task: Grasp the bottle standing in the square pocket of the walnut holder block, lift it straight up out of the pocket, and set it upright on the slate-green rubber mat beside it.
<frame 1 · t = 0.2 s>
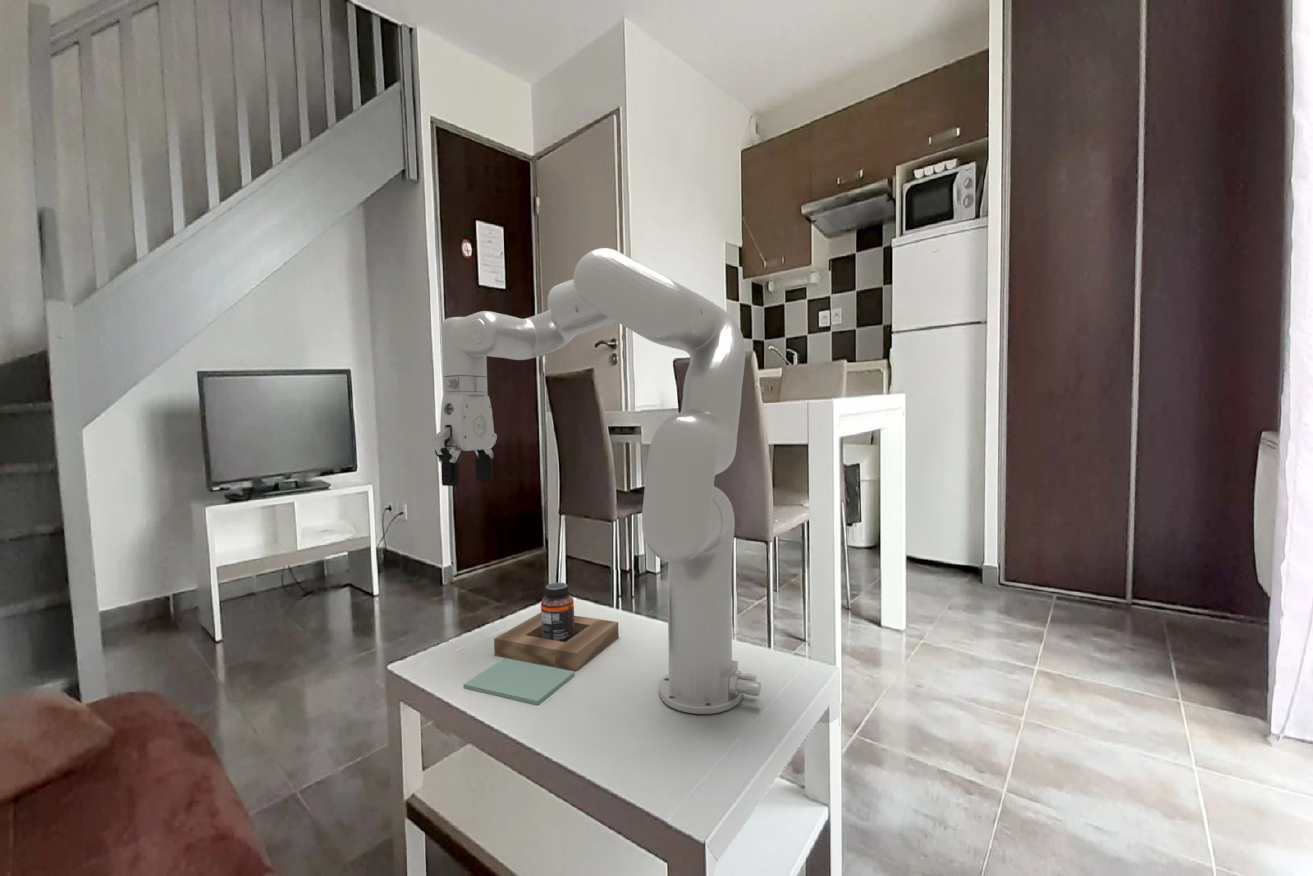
hand: (468, 482, 101), 31 cm above the table, fingers open, 9 cm apart
supplement bottle: (558, 647, 102), resting in walnut holder
slate mat: (520, 681, 89), on the table
walnut holder: (558, 646, 102), on the table
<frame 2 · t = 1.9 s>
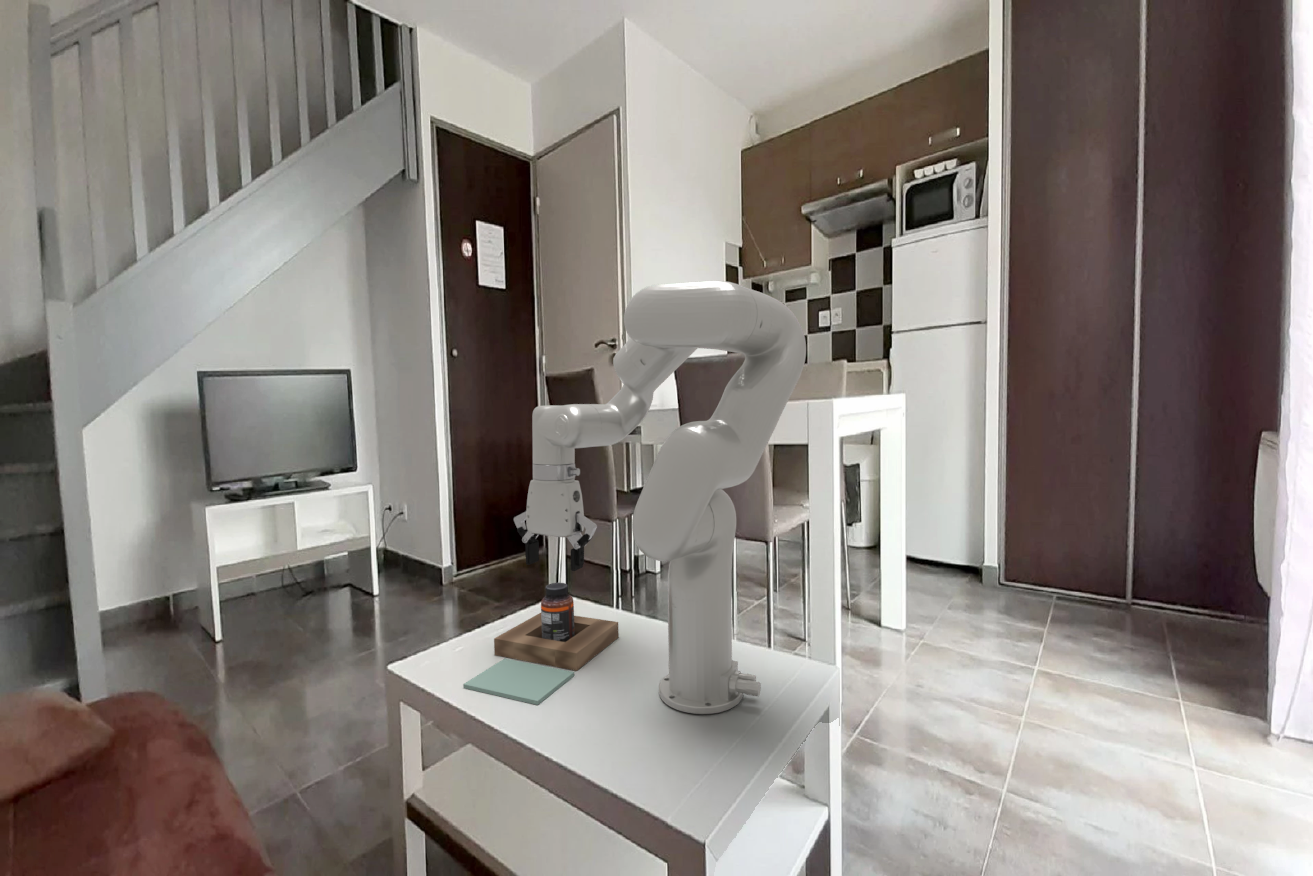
hand: (554, 565, 102), 15 cm above the table, fingers open, 9 cm apart
nothing on the table moved.
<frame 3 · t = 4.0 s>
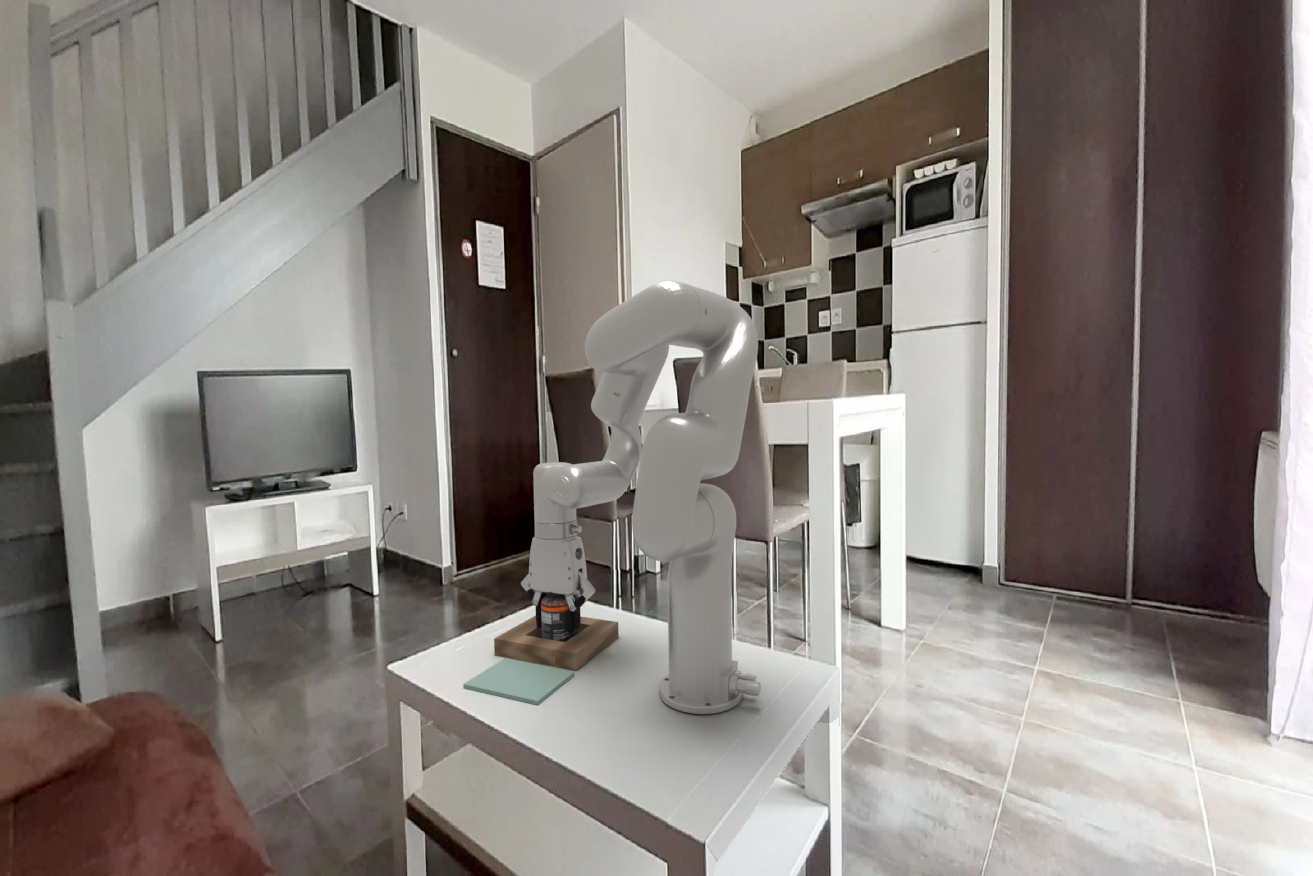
hand: (558, 626, 102), 4 cm above the table, fingers closed on supplement bottle, 6 cm apart
supplement bottle: (558, 647, 102), resting in walnut holder, touching gripper
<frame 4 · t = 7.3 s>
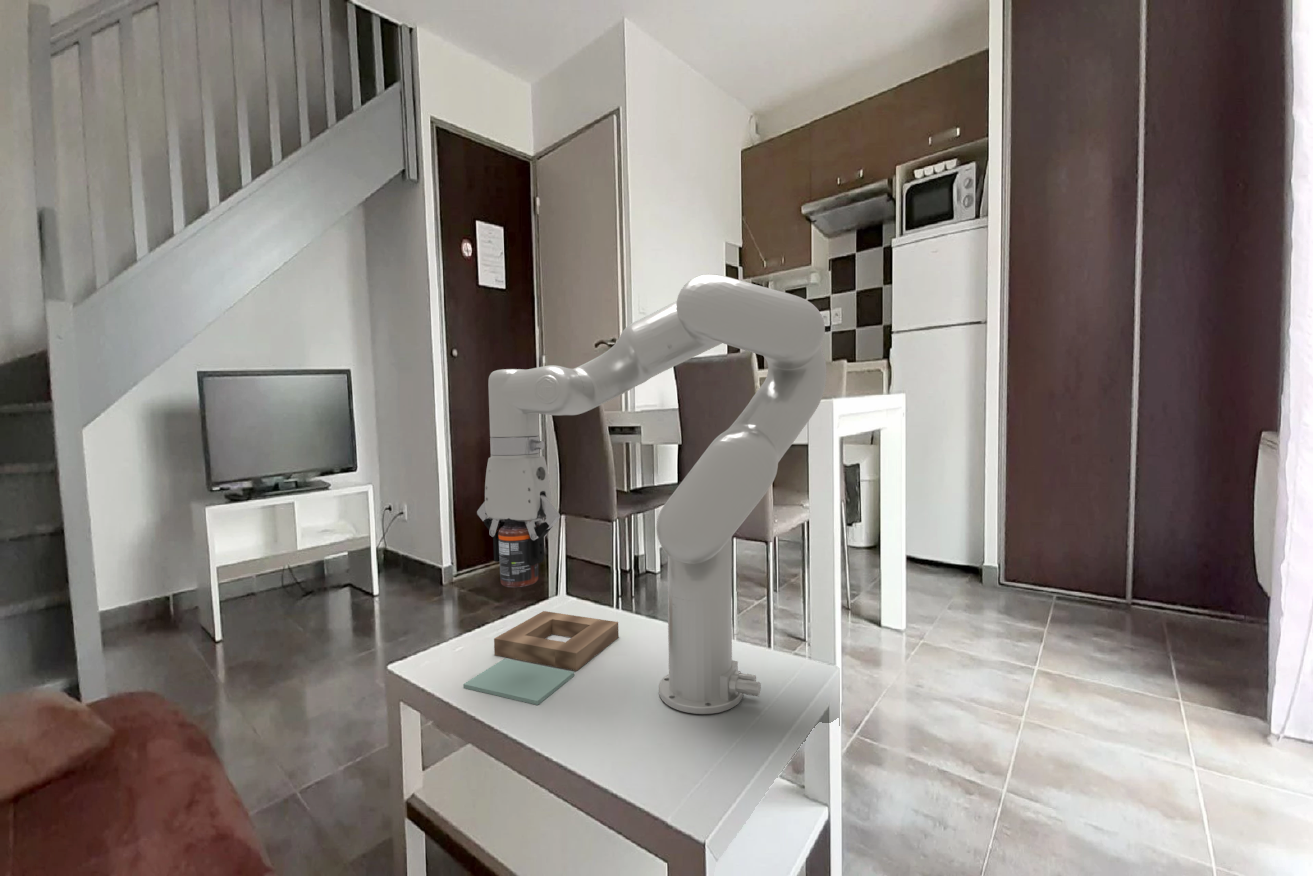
hand: (518, 560, 88), 19 cm above the table, fingers closed on supplement bottle, 6 cm apart
supplement bottle: (519, 584, 88), point 16 cm above the table, touching gripper
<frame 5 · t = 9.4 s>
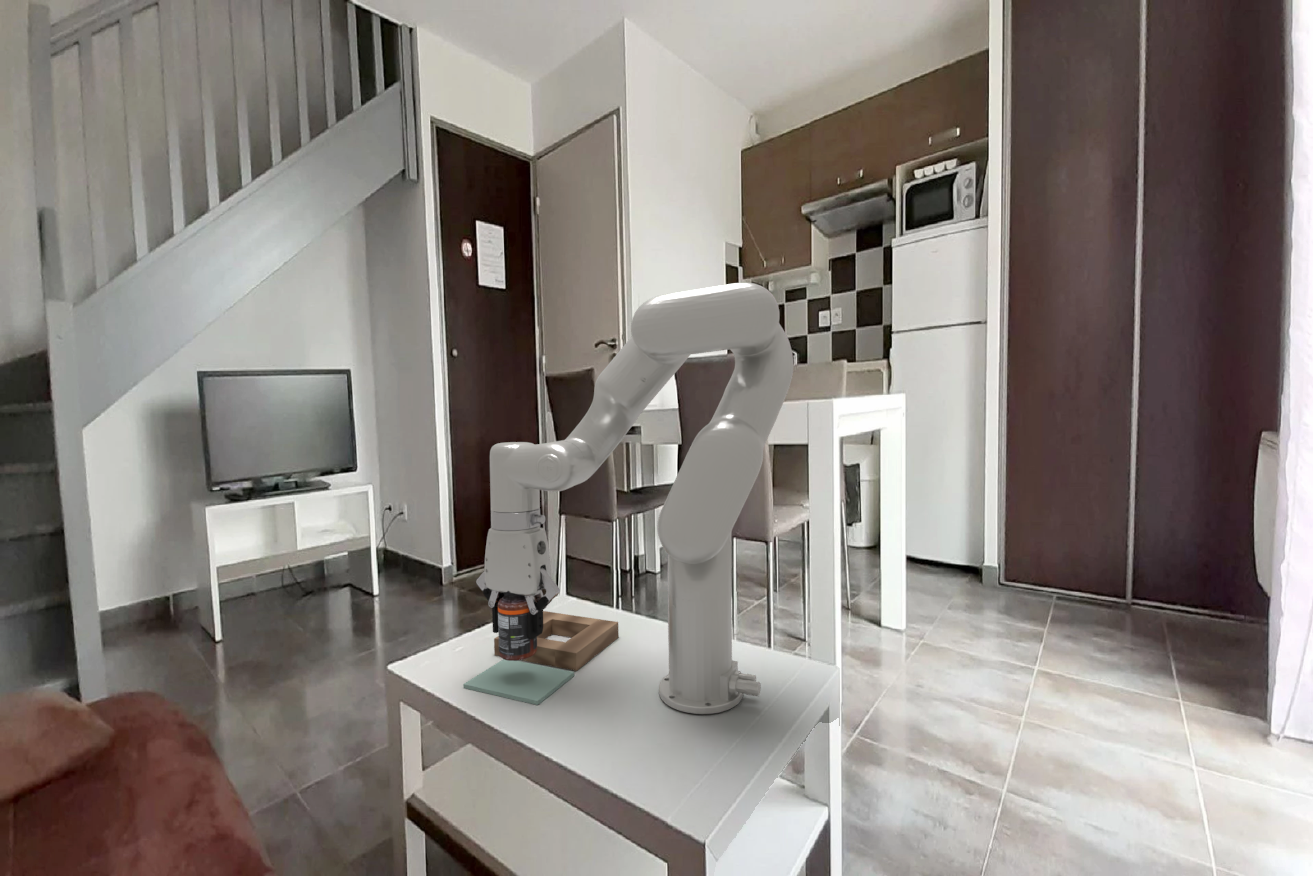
hand: (517, 632, 88), 8 cm above the table, fingers closed on supplement bottle, 6 cm apart
supplement bottle: (518, 655, 89), point 4 cm above the table, touching gripper
when the fingers open (5 cm above the table, at t = 10.9 s): supplement bottle drops 1 cm, resting on slate mat.
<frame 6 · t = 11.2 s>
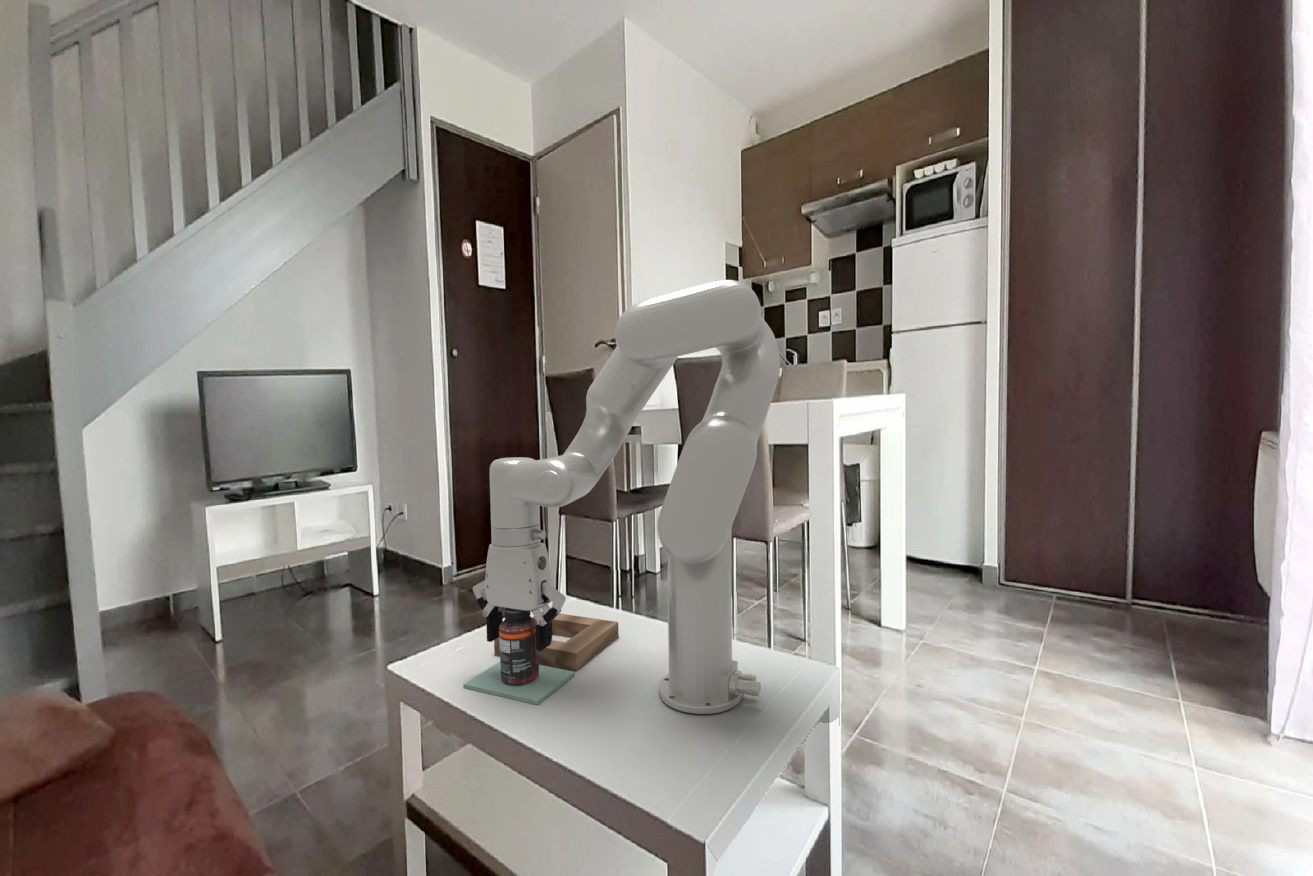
hand: (518, 643, 88), 6 cm above the table, fingers open, 9 cm apart
supplement bottle: (520, 679, 89), resting on slate mat
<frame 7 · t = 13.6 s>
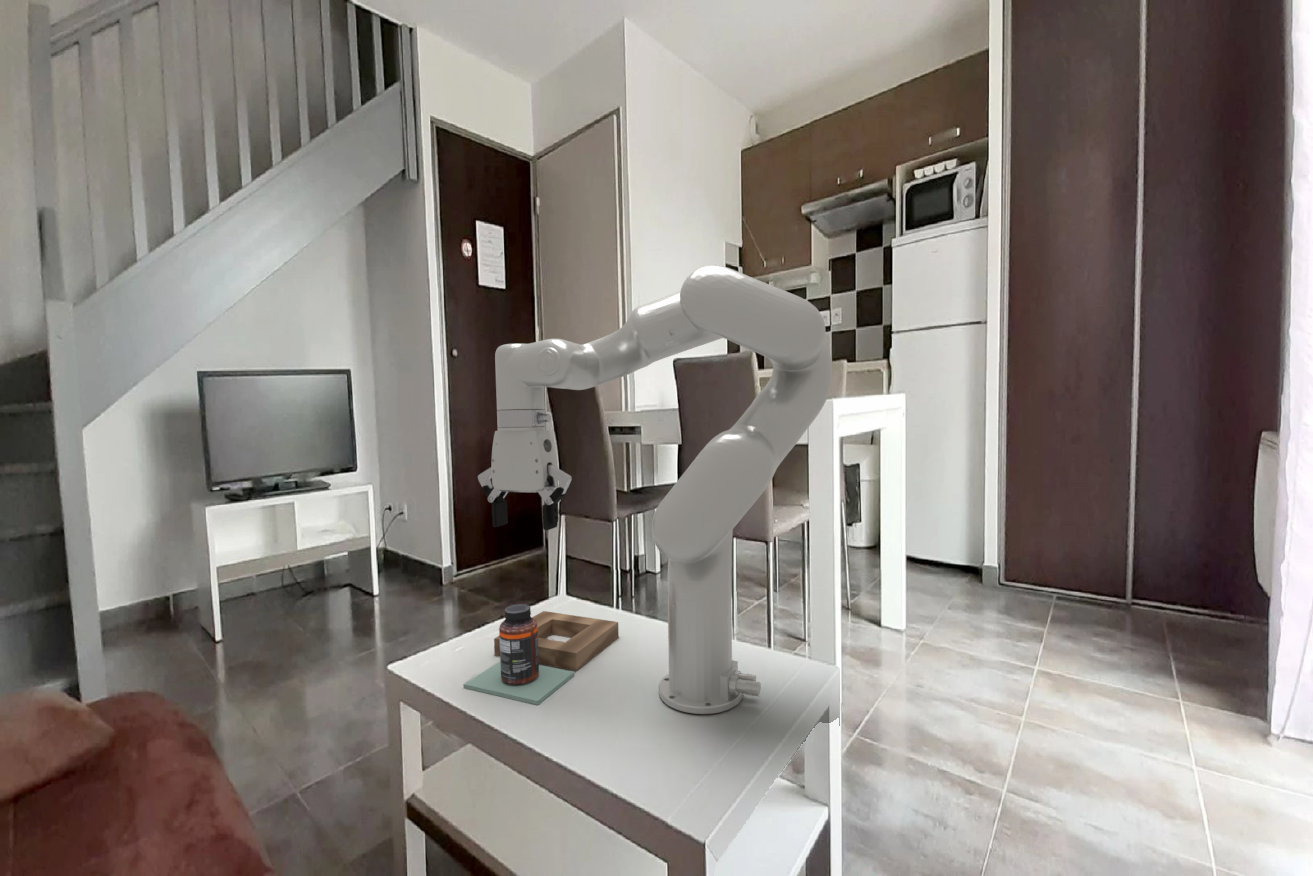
hand: (524, 526, 90), 24 cm above the table, fingers open, 9 cm apart
nothing on the table moved.
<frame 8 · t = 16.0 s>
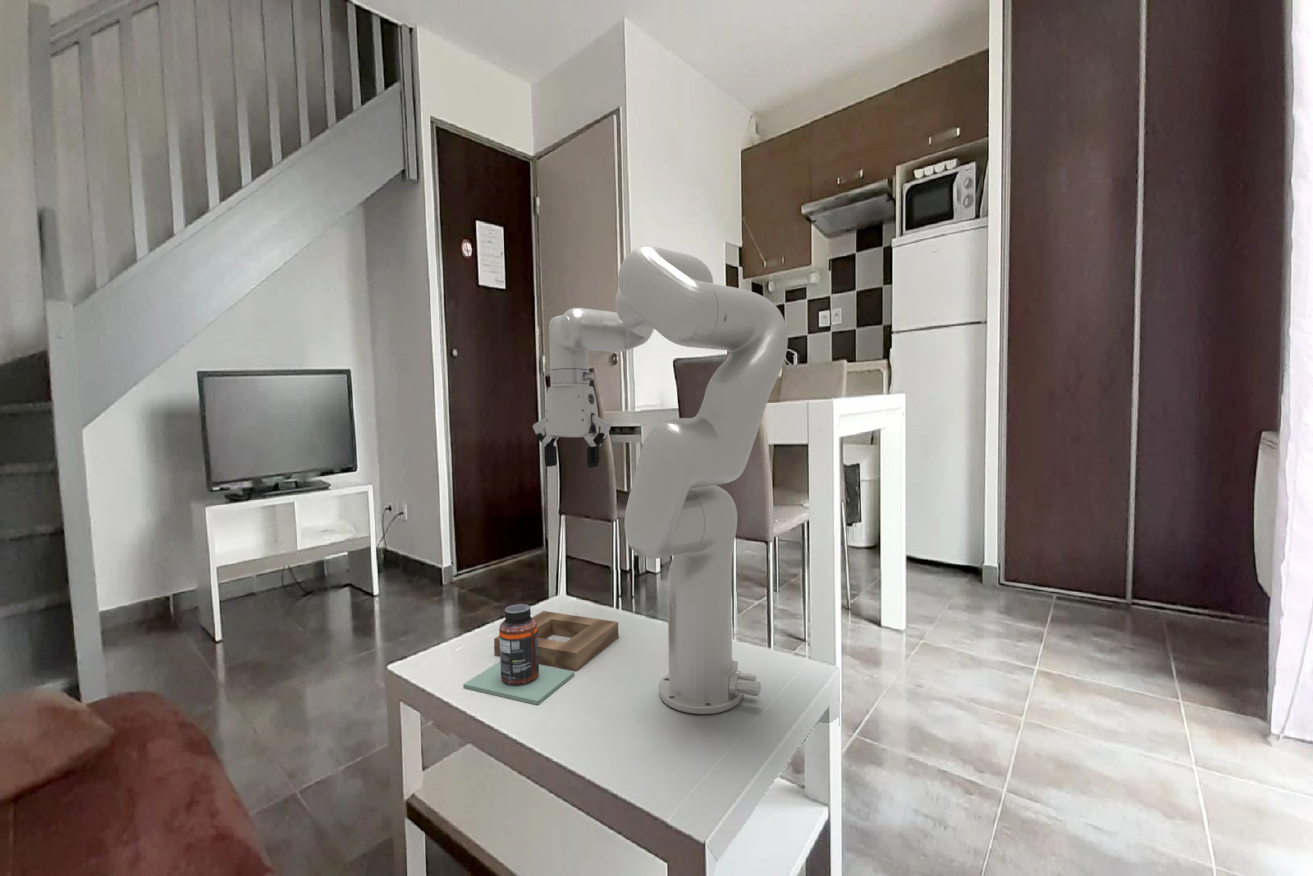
hand: (571, 466, 110), 32 cm above the table, fingers open, 9 cm apart
nothing on the table moved.
at the end: supplement bottle inside the target area on the slate mat (0.0 cm from its centre), point 0.4 cm above the slate mat's base; supplement bottle tilted 0°; the gripper is holding nothing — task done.
